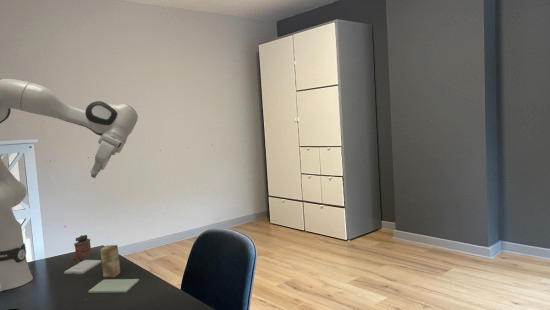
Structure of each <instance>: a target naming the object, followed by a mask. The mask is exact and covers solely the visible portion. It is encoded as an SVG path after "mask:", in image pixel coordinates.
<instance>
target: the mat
mask: <svg viewBox="0 0 550 310" xmlns="http://www.w3.org/2000/svg"><path fill="white" fill-rule="evenodd" d="M139 281H140V279H139V278H129V279H128V278H127V279H126V278H120V279H119V278H118V279H116V278H115V279H114V278H113V279H112V278H111V279H110V278H108V279H106V278H105V279H102V280H101V281H100V282H98V283H97V284H96V285H94V286H93V287H91V289H89V290H88V291H87V292H88V293H89V294H90V293H94V294H95V293H96V294H98V293H107V294H108V293H110V294H111V293H127V292H129V291H130V290H131V289H132V288H133V287H134V286H135V285H136V284H137V283H138V282H139Z"/></svg>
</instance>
